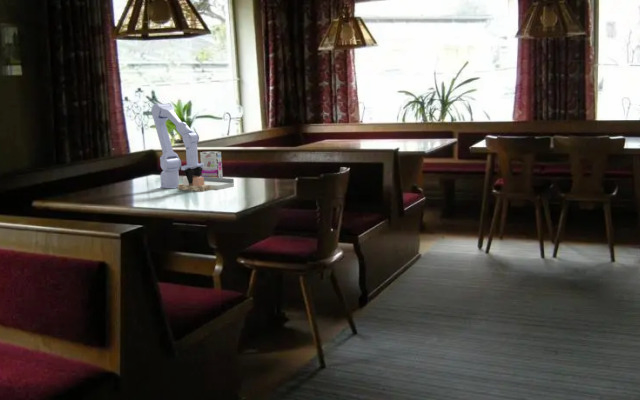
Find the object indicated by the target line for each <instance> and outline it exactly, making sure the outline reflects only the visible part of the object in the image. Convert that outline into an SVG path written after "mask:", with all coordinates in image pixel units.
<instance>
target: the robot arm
mask: <svg viewBox="0 0 640 400" xmlns="http://www.w3.org/2000/svg"><path fill="white" fill-rule="evenodd" d="M150 111H151V115H152V118H153V122H154V126H155V129H156V133H157V137H158V141H159V143H160V144H159V145H160V148H161V152H162V154H161V156H160V157H159V162H160V165H159V166H160V168H161V170H162V171H161V172H160V186H159V188H160V189H161V188H163V189H177V188H178V184H180V177H179V175H180V174H179V171H180V170H181V171H183V173H184V175H185V177H187V179H188V183H192V182H193V176H198V177H200V176H201V172H202V170H203V169H202V168H201V167H204V163H201V162H200V163H199V155H198V143H199V141H200V135H199V134H198V132H197V131H194V130H192V129H191V128H190V126H189V125H188V124H187V123H186V122H185V121H182V120H181V119H180V118H179V116H178V115H177V113H176V112H175V107H174V106H173V105H172V104H171V103H169V102H168V103H154V104H153V105H152V107H151V109H150ZM168 120H170V121H171V122H172V123H173V125H175V129H176V131H177V132H178V133H179V134H180V136H181V138H182V142H183V143H184V147H185V155H186V157H185V158H186V159H185V160H186V164H184V165H182V161H181V159H180V157H179V154H178V153H176V152H175V151H174V149H173V146H172V142H171V138H170V135H169V131H168V128H167V124H166V122H167V121H168Z"/></svg>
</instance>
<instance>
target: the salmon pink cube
mask: <svg viewBox="0 0 640 400" xmlns="http://www.w3.org/2000/svg"><path fill="white" fill-rule="evenodd" d="M201 185H204V177H194V178H193V186H201Z"/></svg>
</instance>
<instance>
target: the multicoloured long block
mask: <svg viewBox="0 0 640 400" xmlns="http://www.w3.org/2000/svg"><path fill="white" fill-rule="evenodd" d="M194 177H198V176H194V175H193V178H194ZM177 188H178V189H177V190H182V191H183V190H184V191H192V190H195V191H196V192H206V191H207V190H208V191H211V189H210V185H201V186H193V182H192V183H189V185H183V183H179V184H178V187H177ZM208 191H207V192H208Z"/></svg>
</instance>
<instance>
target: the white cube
mask: <svg viewBox="0 0 640 400" xmlns="http://www.w3.org/2000/svg"><path fill="white" fill-rule="evenodd" d="M182 181H183V183H182V184H183V185H189V183H188V179H187V177H186V176H183V177H182Z"/></svg>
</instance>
